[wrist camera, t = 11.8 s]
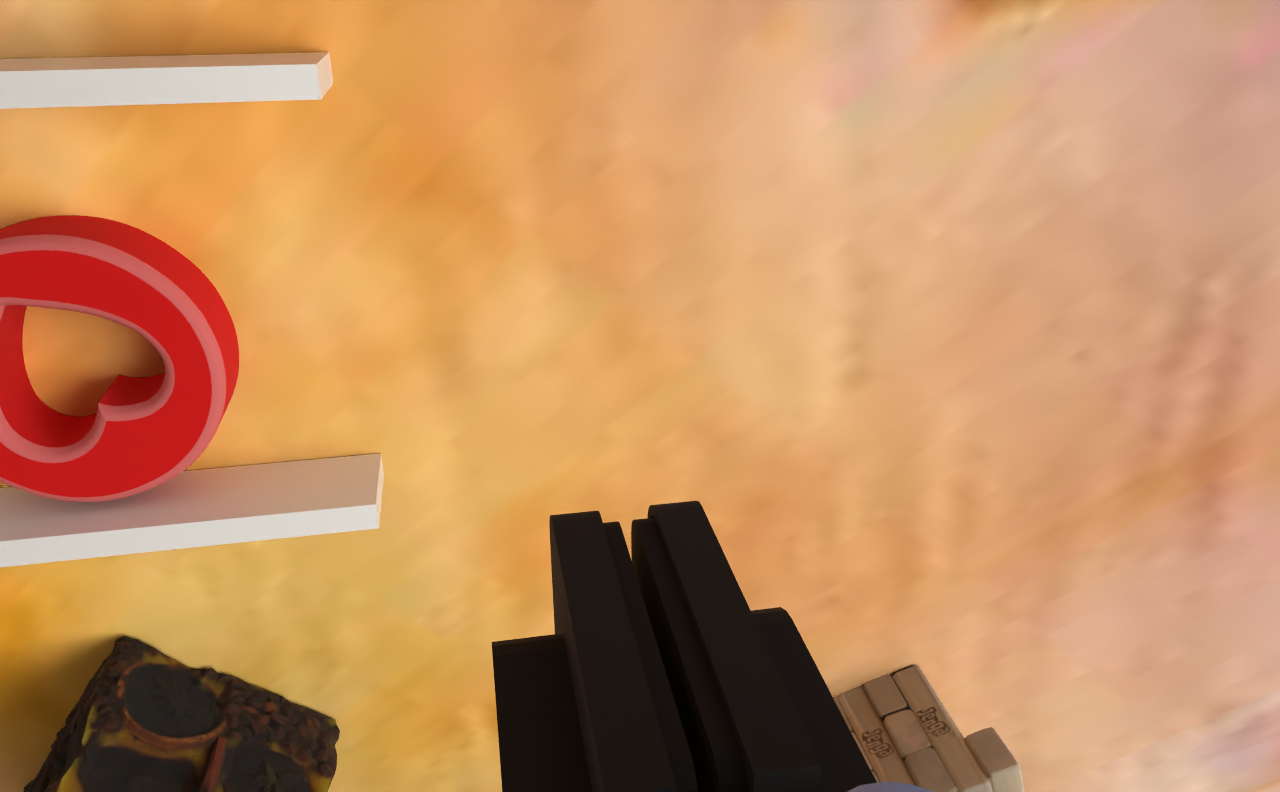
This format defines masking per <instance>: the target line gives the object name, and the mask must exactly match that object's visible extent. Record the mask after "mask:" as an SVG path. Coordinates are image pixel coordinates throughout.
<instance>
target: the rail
mask: <svg viewBox="0 0 1280 792" xmlns="http://www.w3.org/2000/svg"><path fill="white" fill-rule="evenodd" d="M332 85H333V77H332V70H331V62H330V54H329V52H307V53H260V54H213V55H166V56H119V57H73V58H26V59H0V109H7V108H42V107H76V106H110V105H144V104H178V103H212V102H246V101H280V100H314V99H322V97H323V96H324V95H325V94H326V92H327V91H328V90H329V88H330V87H331V86H332ZM383 480H384V472H383V465H382V457H381V453H378V454H367V455H356V456H345V457H334V458H323V459H312V460H301V461H290V462H279V463H268V464H257V465H246V466H234V467H223V468H212V469H201V470H190V471H183V472H181V473H180V474H179V475H177V476H175V477H174V478H172V479H170V480H168V481H167V482H165V483H163V484H161V485H158V486H156V487H154V488H152V489H149V490H147V491H144V492H142V493H139V494H136V495H132V496H129V497H125V498H120V499H115V500H109V501H99V502H73V501H63V500H56V499H51V498H46V497H42V496H38V495H34V494H31V493H28V492H25V491H22V490H19V489H16V488H14V487H2V488H0V567H8V566H17V565H27V564H37V563H46V562H56V561H66V560H75V559H85V558H95V557H105V556H114V555H124V554H134V553H143V552H153V551H163V550H172V549H182V548H192V547H202V546H211V545H221V544H231V543H240V542H250V541H260V540H269V539H279V538H289V537H299V536H308V535H318V534H328V533H337V532H347V531H357V530H366V529H376V528H379V522H380V512H381V501H382V490H383Z"/></svg>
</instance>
